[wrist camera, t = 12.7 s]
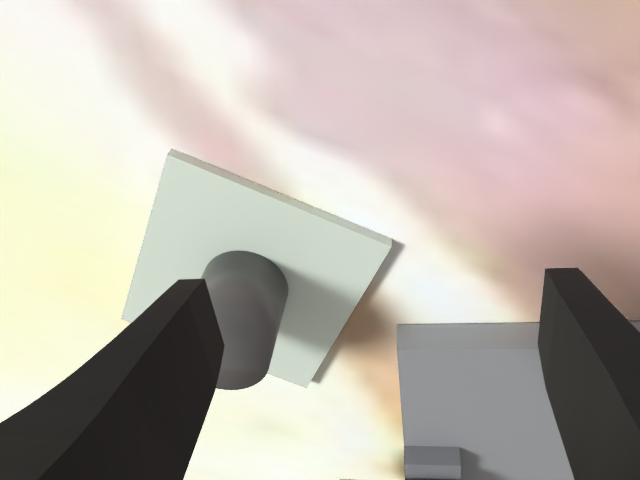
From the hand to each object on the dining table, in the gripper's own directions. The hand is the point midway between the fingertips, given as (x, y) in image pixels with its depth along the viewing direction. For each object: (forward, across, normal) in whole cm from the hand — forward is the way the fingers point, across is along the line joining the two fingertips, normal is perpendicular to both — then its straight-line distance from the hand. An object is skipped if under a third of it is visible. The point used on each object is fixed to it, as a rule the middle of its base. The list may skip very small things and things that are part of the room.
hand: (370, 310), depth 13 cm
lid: (+10, +6, +6) cm, 13 cm away
